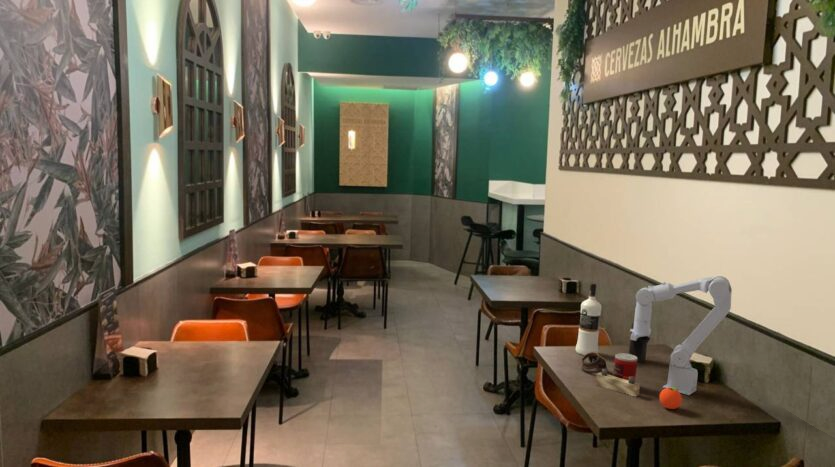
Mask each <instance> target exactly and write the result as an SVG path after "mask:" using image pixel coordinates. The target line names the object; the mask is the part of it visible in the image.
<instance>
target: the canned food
mask: <svg viewBox="0 0 835 467" xmlns="http://www.w3.org/2000/svg"><path fill="white" fill-rule="evenodd" d="M614 356H615V357H614V362H613V364H614V365H613V374H612V376H614V377H618V378H621V379H625V380H628V381H629V377H630V376H632V377H635V379H636V377H637V370H638V368H637V367H638V362H637V357H636V356H634V355H631V354H629V353H624V352H619V353H616V354H615V355H614Z"/></svg>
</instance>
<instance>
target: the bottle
mask: <svg viewBox="0 0 835 467" xmlns="http://www.w3.org/2000/svg"><path fill="white" fill-rule="evenodd" d="M633 328H634V321H633V322H631V328H630V329H633ZM631 334H632V332H630V336H629V345H628V346H629V349H628V354H631V355H634V356H636V355H635V349H634V344H633V341H632V340H631V339H630V338H631ZM646 337H649V336H646ZM647 349H648V344H647V345H646V347H645V349H644V352H643V355H642V356H641V357H640V356H636V357H637V363H645V362H646V359H647Z"/></svg>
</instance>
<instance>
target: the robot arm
mask: <svg viewBox="0 0 835 467" xmlns="http://www.w3.org/2000/svg"><path fill="white" fill-rule="evenodd" d="M730 283H731V282H730V280H729V279H728V278H726V277H725V276H723V275H717V276H715V277H713V276H711V277H704V278H703V277H702V278H699V279H694V280H690V281H687V282H682V283H678V284H672V283H670V282H666V281H663V282H661V284H657V285H653V286H652V285H648V286H647V287H642V288H641V289H639V290H638V291H637V292H636V293H635V301H636V304H635V305H636V306H635V310H634V319H633V322H634V328H633V329H631V328H630V330H629V331H630V336H631V338H630V337H629V340H630V339H631V340H632V341H633V344H634V349H635V355H636V356H640V357H641V356H642V355H643V352H644V349H645V347H646V345H647V346H648V343H649V341H651V337H649V336H650V335H651V334H652V328H651V324H652V323H651V321H652V314H653V313H652V312H653V309H652V308H653V302H655V303H657V302H661V301H662V302H663V301H667V300H672V299H674V298H675V296H676V295H677V294H683V293H690V292H695V291H700V292H702V293H705V294H707V293H708V292H709V294H710V296H711V298H712V299H713V304H714V306H713V308H712V309H711V310H710V311H709V313H708V314H707V315H706V316H705V317H704V318H703V320H702V321H701V322H700V323H699V324H698V325H697V326H696V327H695V329H694V330H692V332H691V333H690V335H688V337H687V338H686V339H685V340H684V341H683V342H682V343H680V344H677V345H675V347H674V349H673V351H672V352H671V354H670V358H669V359H670V361H669V367H668V373H667V374H668V376H667V381H666V382H667V383H666V384H665V385H663V386H662V389H665V388H672V387H673V388H677V389H678V392H679V393H680V394H683V395H687V396H691V394H694V393H695V392H696V391H697V383H698V374H699V372H698V369H696V368H693V366H692V364H691V362H690V361H691V360H690V359H691V358H692V356H693V354H694V353H695V352H696V350H697V349H698V348H699V346H700V345H701V344H702V343H703V342H704V341H705V340H706V339H707V338H708V337H709V336H710V334H711V333H712V332H713V331H714V329H715V328H716V327H717V326H718V325H719V324H720V323H721V322H722V320H723V319H724V318H725V317H726V316H727V315H728V313H729V312H730V310H732V309H731V308H732V292H733V291H732V290H733V289H732V286H731V284H730ZM631 332H632V334H631ZM646 336H648V337H646ZM677 389H676V390H677Z"/></svg>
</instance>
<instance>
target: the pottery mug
mask: <svg viewBox="0 0 835 467" xmlns="http://www.w3.org/2000/svg"><path fill="white" fill-rule="evenodd" d="M587 358H588V360H589V362H586V361H585V360H586V359H587ZM580 365H581V366H580V367H581V368H580V369H581V371H584V370H588V371H589V370H593V369H595V370H596V369H597V370H599V369H600V370H602V369H607V370H608V365H607V362H606V360H605V358H604V357H602V355H600V354H599V352H598V353H596V352H591V353H587V354H586V355H582V357H581V364H580Z"/></svg>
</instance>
